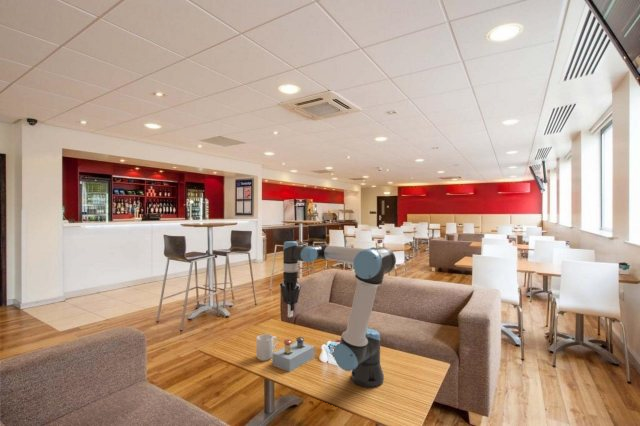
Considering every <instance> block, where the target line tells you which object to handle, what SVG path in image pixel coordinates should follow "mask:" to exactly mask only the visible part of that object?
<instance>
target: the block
mask: <svg viewBox="0 0 640 426" xmlns="http://www.w3.org/2000/svg"><path fill="white" fill-rule="evenodd" d="M314 358H315V346H314V345H312V344H307V343H305V342H303V348H301V349H299V348H297V341H295V342H293V343H291V354H290V355H286V354H285V347H282V348H280V349H278V350H277V351H273V355H272V358H271V359H272V360H271V361H272V362H271V363H272V366H275V367H277V368H279V369H282V370H284V371H287V372H292V371H294V370H295V369H297V368H299V367H301V366H302V365H304V364H305V363H308V362H309V361H312V360H313V359H314Z"/></svg>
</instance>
